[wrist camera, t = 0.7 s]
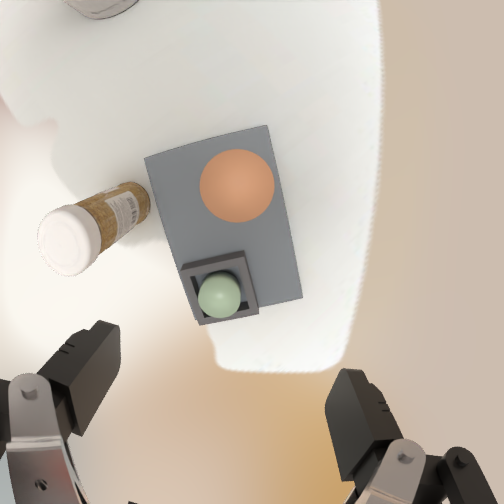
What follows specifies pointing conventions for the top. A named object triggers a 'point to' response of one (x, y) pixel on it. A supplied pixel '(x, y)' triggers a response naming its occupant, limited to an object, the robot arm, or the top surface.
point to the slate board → (227, 218)
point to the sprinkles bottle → (90, 227)
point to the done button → (219, 295)
